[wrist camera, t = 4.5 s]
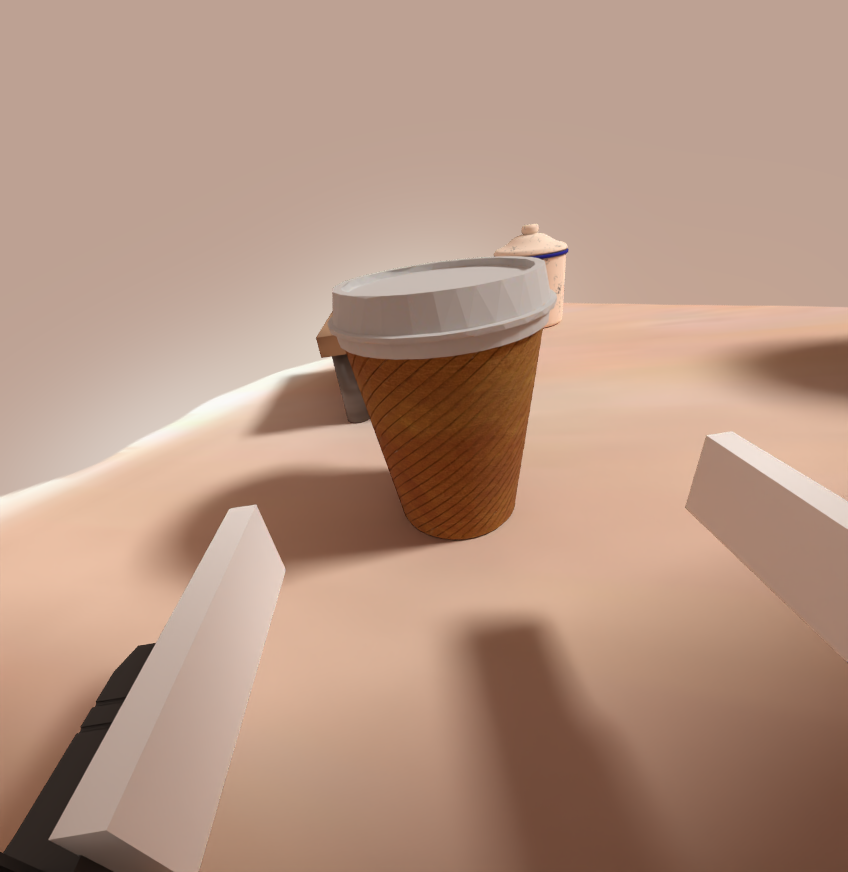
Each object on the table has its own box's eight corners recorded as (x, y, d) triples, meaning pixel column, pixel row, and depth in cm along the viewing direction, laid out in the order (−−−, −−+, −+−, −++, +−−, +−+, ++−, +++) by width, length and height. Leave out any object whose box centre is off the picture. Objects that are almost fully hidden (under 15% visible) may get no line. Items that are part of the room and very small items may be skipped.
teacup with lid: (494, 316, 56) (492, 228, 50) (558, 311, 54) (563, 218, 49) (494, 340, 46) (491, 233, 40) (573, 334, 44) (582, 221, 38)
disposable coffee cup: (342, 512, 22) (275, 295, 16) (448, 439, 27) (430, 258, 21) (475, 604, 16) (449, 306, 10) (577, 486, 21) (602, 250, 15)
